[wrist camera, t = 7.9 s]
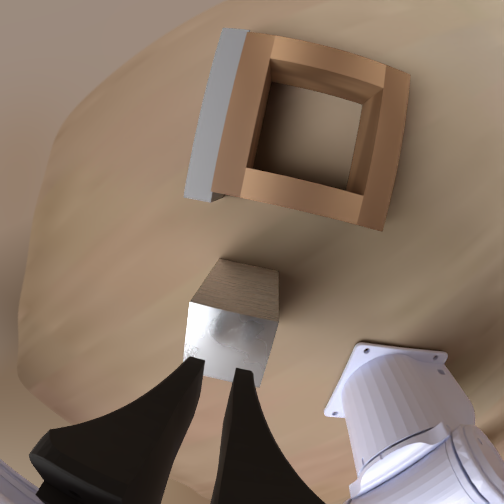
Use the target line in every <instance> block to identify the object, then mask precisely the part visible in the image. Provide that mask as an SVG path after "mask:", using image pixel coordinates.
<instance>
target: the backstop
mask: <svg viewBox="0 0 504 504" xmlns="http://www.w3.org/2000/svg"><path fill="white" fill-rule="evenodd" d="M247 32H250V30H244V29H233V28H223V29H222V32H221V36H220V39H219V42H218V46H217V49H216V53H215V56H214V60H213V64H212V67H211V71H210V75H209V79H208V83H207V87H206V91H205V95H204V99H203V103H202V107H201V111H200V116H199V120H198V125H197V129H196V134H195V139H194V144H193V148H192V153H191V159H190V164H189V169H188V174H187V180H186V186H185V191H184V197H185V198H190V199H195V200H200V201H206V202H213V201H215V200H218V199H220V198H223V194H220V193H215V192H211V187H212V181H213V176H214V171H215V166H216V161H217V156H218V151H219V146H220V142H221V137H222V132H223V128H224V123H225V119H226V114H227V110H228V106H229V101H230V97H231V93H232V89H233V84H234V80H235V76H236V72H237V68H238V64H239V60H240V57H241V53H242V49H243V45H244V42H245V38H246V34H247Z"/></svg>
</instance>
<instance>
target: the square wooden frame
mask: <svg viewBox="0 0 504 504" xmlns="http://www.w3.org/2000/svg"><path fill="white" fill-rule="evenodd" d="M272 82H276V83H281V84H286V85H291V86H296V87H300V88H305V89H309V90H313V91H317V92H321V93H325V94H329V95H333V96H336V97H340V98H343V99H346V100H350V101H353V102H356V103H359V104H363V105H362V111H361V117H360V123H359V128H358V134H357V139H356V144H355V150H354V155H353V159H352V164H351V169H350V174H349V178H348V183H347V187H346V191H344V190H340V189H337V188H333V187H329V186H325V185H321V184H317V183H313V182H309V181H305V180H301V179H296V178H292V177H288V176H283V175H279V174H274V173H270V172H265V171H260V170H255V169H253V166H254V161H255V156H256V152H257V147H258V142H259V137H260V133H261V128H262V124H263V119H264V114H265V110H266V105H267V101H268V96H269V92H270V87H271V83H272ZM409 86H410V75H409V74H407V73H405V72H402V71H400V70H397V69H395V68H392V67H390V66H387V65H385V64H382V63H379V62H376V61H374V60H371V59H368V58H365V57H362V56H359V55H356V54H352V53H349V52H346V51H342V50H339V49H335V48H331V47H328V46H324V45H320V44H316V43H311V42H307V41H302V40H297V39H292V38H287V37H281V36H275V35H268V34H261V33H254V32H247V34H246V38H245V42H244V45H243V49H242V53H241V57H240V60H239V64H238V68H237V72H236V76H235V80H234V84H233V89H232V93H231V97H230V101H229V106H228V110H227V114H226V119H225V123H224V128H223V132H222V137H221V142H220V146H219V151H218V156H217V161H216V166H215V171H214V176H213V181H212V187H211V192H215V193H220V194H225V195H230V196H235V197H240V198H245V199H250V200H255V201H259V202H264V203H268V204H273V205H278V206H282V207H286V208H291V209H295V210H299V211H304V212H308V213H312V214H316V215H320V216H325V217H329V218H333V219H337V220H341V221H344V222H348V223H352V224H356V225H360V226H364V227H367V228H371V229H375V230H378V231H383V227H384V224H385V220H386V216H387V212H388V208H389V204H390V200H391V195H392V191H393V186H394V182H395V177H396V172H397V167H398V162H399V157H400V151H401V146H402V140H403V134H404V127H405V120H406V113H407V105H408V96H409Z"/></svg>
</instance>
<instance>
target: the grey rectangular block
mask: <svg viewBox="0 0 504 504" xmlns="http://www.w3.org/2000/svg"><path fill="white" fill-rule="evenodd" d="M278 323H279V271H275V270H270V269H266V268H261V267H257V266H252V265H247V264H243V263H238V262H234V261H229V260H225V259H220V258H219V260H218V261H217V263H216V264H215V266H214V267H213V268H212V270H211V271H210V273H209V274H208V276H207V277H206V279H205V280H204V282H203V283H202V285H201V286H200V288H199V289H198V291H197V292H196V293H195V295H194V296H193V298H192V299H191V301H190V305H189V313H188V321H187V330H186V339H185V348H184V359H183V362H184V361H185V360H186V359H187V358H188V357H190V356H191V357H195V358H199V359H203V360H205V365H204V372H203V375H205V376H208V377H213V378H217V379H221V380H225V381H230V382H233V378H234V374H235V370H236V368H241V369H245V370H250V371H252V372H253V373H254V383H255V387H259V388H260V384H261V381H262V378H263V375H264V371H265V368H266V365H267V361H268V358H269V355H270V351H271V348H272V344H273V341H274V337H275V334H276V330H277V327H278Z"/></svg>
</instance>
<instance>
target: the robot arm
mask: <svg viewBox="0 0 504 504" xmlns="http://www.w3.org/2000/svg"><path fill="white" fill-rule="evenodd" d="M366 348H369V349H368V350H367V351H364V350H365V349H366ZM434 356H435V357H434ZM447 358H448V354H447V353H446V352H443V351H432V350H421V349H412V348H403V347H394V346H386V345H378V344H371V343H364V342H360V343H358V344H356V345H355V347H354V349H353V351H352V354H351V356H350V358H349V360H348V363H347V365H346V367H345V369H344V371H343V373H342V376H341V378H340V380H339V382H338V384H337V386H336V388H335V390H334V392H333V394H332V396H331V398H330V400H329V402H328V404H327V406H326V408H325V409H324V414H325V416H329V417H342V418H345V419H346V424H347V428H348V433H349V437H350V442H351V447H352V452H353V457H354V462H355V467H356V472H357V477H358V479H357V480H356V481H354V482H353V483H351V484H350V485H349V488H350V495H351V498H349V499H347V500H346V501H345V502H344V503H343V504H504V462H503V460H502V458H501V456H500V454H499V453H498V451H497V450H496V448H495V447H494V445H493V444H492V442H491V441H490V440H489V439H488V437H487V436H486V435H485V434H484V433H483V432H482V431H481V430H480V429H479V428H478V427H477V426H475V413H474V408H473V405H472V403H471V401H470V400H469V398H468V397H467V395H466V394H465V392H464V391H463V390H462V388H461V387H460V385H459V384H458V382H457V381H456V380H455V378H454V377H453V375H452V374H451V373H450V371H449V370H448V369H447V367H446V366H445V365H444V363H445V362H446V360H447ZM204 365H205V360H203V359H199V358H195V357H191V356H190V357H188V358H187V359H186V360H185V361H184V362H183V363H182V364H181V365H180V366H179V367H178V368H177V369H176V370H175V371H174V372H173V373H171V374H170V375H169V376H168V377H167V378H166V379H164V380H163V381H162V382H161V383H159V384H158V385H157V386H156V387H154V388H153V389H151V390H150V391H149V392H147V393H146V394H144V395H143V396H141V397H140V398H138V399H136V400H135V401H133V402H131V403H130V404H128V405H126V406H124V407H122V408H120V409H118V410H116V411H114V412H111V413H109V414H107V415H104V416H102V417H99V418H96V419H93V420H90V421H87V422H84V423H80V424H77V425H72V426H67V427H62V428H57V429H50V430H49V431H48V432H47V433H46V434H45V435H44V436H43V437H42V438H41V439H40V441H39V442H38V443H37V444H36V446H35V447H34V449H33V450H32V451H31V452H30V454H29V458H30V461H31V463H32V464H33V466H34V467H35V468H36V470H37V471H38V473H39V474H40V475H41V477H42V478H43V479H44V482H43V483H42V485H41V487H40V488H38V487H36V486H35V485H34V484H32V483H31V482H29V481H28V480H27V479H25V478H23V477H22V476H21V475H20V474H18V473H17V472H16V471H14V470H13V469H12V468H11V467H10V466H8V465H7V464H6V463H4V462H3V461H2V460H1V459H0V504H161V500H162V497H163V493H164V490H165V487H166V484H167V480H168V477H169V474H170V471H171V468H172V465H173V462H174V459H175V457H176V455H177V452H178V450H179V448H180V446H181V443H182V441H183V439H184V437H185V435H186V432H187V430H188V428H189V426H190V423H191V421H192V419H193V417H194V414H195V410H196V407H197V404H198V401H199V397H200V392H201V385H202V379H203V372H204ZM333 412H334V413H333ZM211 504H325V503H324V502H323V501H322V500H321V499H320V498H319V497H318V496H317V495H316V494H315V493H314V492H313V491H312V490H311V489H310V488H309V487H308V486H307V485H306V484H305V483H304V482H303V480H302V479H301V478H300V477H299V476H298V474H297V473H296V472H295V470H294V469H293V468H292V466H291V465H290V464H289V462H288V461H287V459H286V458H285V456H284V455H283V453H282V452H281V450H280V448H279V447H278V445H277V443H276V441H275V439H274V437H273V435H272V433H271V431H270V429H269V427H268V424H267V422H266V420H265V417H264V415H263V412H262V409H261V406H260V403H259V400H258V396H257V392H256V388H255V383H254V373H253V372H252V371H250V370H245V369H241V368H236V370H235V374H234V378H233V382H232V387H231V391H230V395H229V399H228V404H227V408H226V412H225V417H224V421H223V429H222V437H221V446H220V456H219V465H218V472H217V477H216V482H215V486H214V490H213V495H212V499H211Z"/></svg>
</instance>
